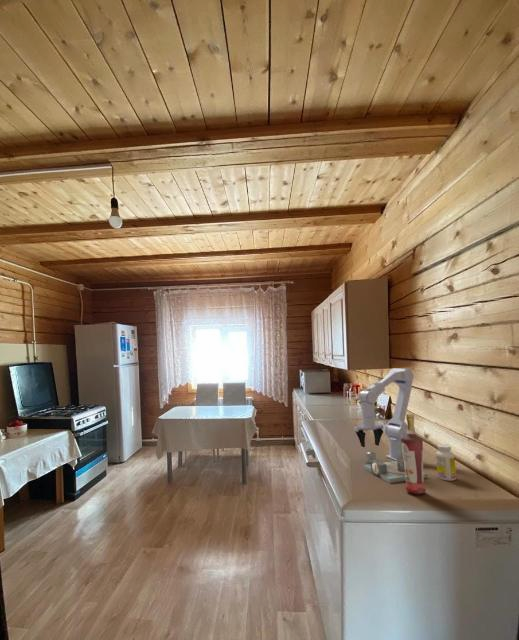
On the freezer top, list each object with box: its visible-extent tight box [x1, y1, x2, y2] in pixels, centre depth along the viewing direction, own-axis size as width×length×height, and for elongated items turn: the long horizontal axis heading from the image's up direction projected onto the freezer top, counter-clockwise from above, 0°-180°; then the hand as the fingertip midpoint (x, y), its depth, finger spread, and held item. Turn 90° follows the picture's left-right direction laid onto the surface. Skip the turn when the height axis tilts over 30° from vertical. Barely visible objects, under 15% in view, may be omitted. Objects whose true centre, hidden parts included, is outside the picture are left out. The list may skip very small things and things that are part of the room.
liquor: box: [401, 413, 427, 496], centre depth 125 cm, size 7×7×28 cm
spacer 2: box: [397, 456, 405, 472], centre depth 141 cm, size 4×4×5 cm
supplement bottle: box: [435, 443, 457, 482], centre depth 137 cm, size 7×7×13 cm
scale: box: [363, 459, 428, 484], centre depth 144 cm, size 18×18×5 cm
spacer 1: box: [365, 450, 377, 465], centre depth 157 cm, size 4×4×5 cm
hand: (370, 445), depth 157 cm, fingers open, 7 cm apart
